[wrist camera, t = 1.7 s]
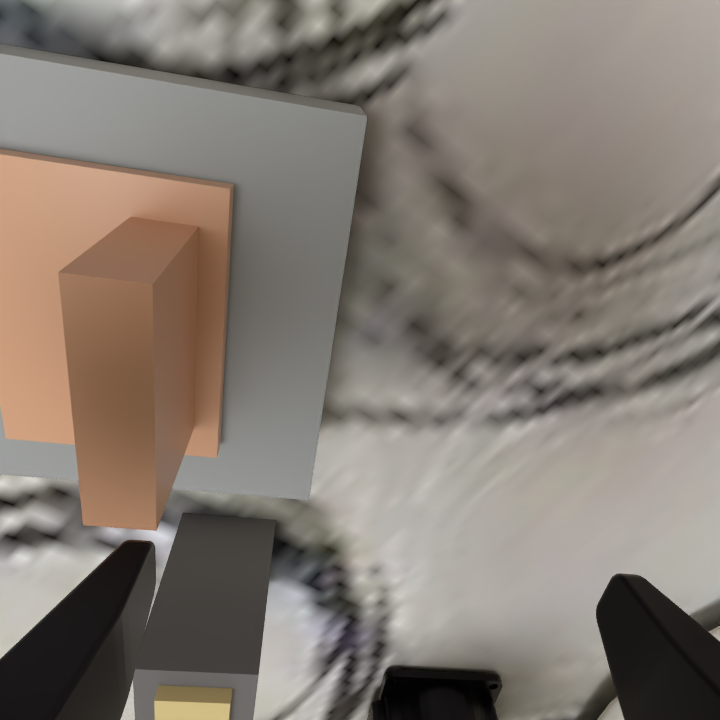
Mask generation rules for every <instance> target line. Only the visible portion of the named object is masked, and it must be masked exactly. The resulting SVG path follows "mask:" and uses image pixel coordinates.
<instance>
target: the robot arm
mask: <svg viewBox="0 0 720 720" xmlns="http://www.w3.org/2000/svg"><path fill="white" fill-rule="evenodd" d="M155 584H156V561H155V546H154V543H153V542H151V541H142V540H127V541H125V542H123V543H122V544H121V545H120V546H119V547H118V548H117V549H116V550H114V551H113V552H112V553H111V554H110V555H109V556H108V557H107V558H106V559H105V560H104V561H103V562H102V563H101V564H100V565H99V566H98V567H97V568H96V569H94V570H93V571H92V572H91V573H90V574H89V575H88V576H87V577H86V578H85V579H84V580H83V581H82V582H81V583H80V584H79V585H78V586H77V587H76V588H74V589H73V590H72V591H71V592H70V593H69V594H68V595H67V596H66V597H65V598H64V599H63V600H62V601H61V602H60V603H59V604H58V605H57V606H56V607H54V608H53V609H52V610H51V611H50V612H49V613H48V614H47V615H46V616H45V617H44V618H43V619H42V620H41V621H40V622H39V623H38V624H37V625H36V626H35V627H33V628H32V629H31V630H30V631H29V632H28V633H27V634H26V635H25V636H24V637H23V638H22V639H21V640H20V641H19V642H18V643H17V644H16V645H15V646H13V647H12V648H11V649H10V650H9V651H8V652H7V653H6V654H5V655H4V656H3V657H2V658H1V659H0V720H120V719H121V716H122V713H123V710H124V707H125V704H126V701H127V698H128V695H129V691H130V687H131V684H132V680H133V676H134V672H135V668H136V664H137V660H138V656H139V652H140V648H141V644H142V640H143V636H144V632H145V628H146V624H147V620H148V616H149V612H150V607H151V603H152V599H153V595H154V590H155ZM596 618H597V623H598V627H599V631H600V634H601V638H602V642H603V645H604V649H605V653H606V656H607V660H608V664H609V668H610V671H611V675H612V679H613V682H614V686H615V690H616V693H617V697H618V701H619V704H620V707H621V711H622V714H623V717H624V720H720V641H719V640H718V639H717V638H715V637H714V636H713V635H712V634H711V633H709V632H708V631H707V630H706V629H705V628H703V627H702V626H701V625H700V624H699V623H697V622H696V621H695V620H694V619H693V618H691V617H690V616H689V615H688V614H687V613H685V612H684V611H683V610H682V609H681V608H679V607H678V606H677V605H676V604H675V603H673V602H672V601H671V600H670V599H669V598H667V597H666V596H665V595H664V594H663V593H661V592H660V591H659V590H658V589H657V588H655V587H654V586H653V585H652V584H651V583H649V582H648V581H647V580H646V579H644V578H643V577H641V576H639V575H633V574H616V575H614V576H613V577H612V578H611V580H610V582H609V583H608V585H607V587H606V589H605V591H604V593H603V595H602V597H601V599H600V600H599V602H598V605H597V609H596ZM501 688H502V682H501V678H500V676H499V675H497V674H484V673H464V672H443V671H422V670H401V669H392V670H389V671H387V672H386V673H385V675H384V679H383V682H382V685H381V689H380V692H379V696H378V699H375V700H374V701H373V703H372V704H371V708H370V711H369V715H368V718H367V720H498V716H497V713H496V709H495V705H494V704H495V701H496V699H497V697H498V695H499V693H500V691H501Z"/></svg>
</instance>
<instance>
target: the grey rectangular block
mask: <svg viewBox="0 0 720 720" xmlns="http://www.w3.org/2000/svg"><path fill="white" fill-rule="evenodd" d="M275 523H276V520H268V519H255V518H243V517H230V516H218V515H205V514H192V513H183V514H182V517H181V520H180V524H179V527H178V530H177V533H176V536H175V539H174V542H173V545H172V548H171V551H170V555H169V558H168V561H167V564H166V567H165V570H164V573H163V576H162V579H161V582H160V586H159V589H158V592H157V595H156V598H155V601H154V604H153V607H152V610H151V613H150V617H149V620H148V623H147V626H146V629H145V632H144V636H143V640H142V644H141V648H140V652H139V656H138V660H137V664H136V668H135V672H134V676H133V688H134V707H135V720H253V715H254V707H255V699H256V690H257V682H258V674H259V665H260V656H261V647H262V638H263V630H264V621H265V612H266V603H267V594H268V585H269V576H270V567H271V559H272V550H273V541H274V532H275Z"/></svg>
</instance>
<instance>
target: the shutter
mask: <svg viewBox="0 0 720 720" xmlns="http://www.w3.org/2000/svg"><path fill="white" fill-rule="evenodd" d="M233 191H234V184H230V183H223V182H217V181H210V180H204V179H197V178H190V177H184V176H177V175H171V174H164V173H158V172H151V171H144V170H138V169H131V168H125V167H118V166H111V165H105V164H98V163H92V162H85V161H79V160H72V159H65V158H59V157H52V156H46V155H39V154H32V153H26V152H19V151H13V150H6V149H0V407H1V413H2V419H3V425H4V431H5V437H6V439H16V440H27V441H38V442H49V443H59V444H70V445H75V448H76V458H77V468H78V478H79V488H80V498H81V508H82V518H83V525H89V526H102V527H115V528H129V529H142V530H155V531H157V528H158V525H159V522H160V520H161V517H162V514H163V512H164V509H165V506H166V503H167V501H168V498H169V495H170V492H171V490H172V487H173V484H174V482H175V479H176V476H177V473H178V471H179V468H180V465H181V462H182V460H183V457H184V455H190V456H201V457H212V458H217V456H218V452H219V449H220V442H221V423H222V404H223V384H224V365H225V346H226V326H227V307H228V288H229V268H230V249H231V230H232V211H233Z"/></svg>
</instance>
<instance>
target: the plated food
mask: <svg viewBox="0 0 720 720" xmlns="http://www.w3.org/2000/svg"><path fill="white" fill-rule="evenodd" d="M709 633H711V634H712V635H713V636H714V637H715V638H717V639H718V640H719V641H720V626H718V627H716V628H715V629H713V630H711V631H709ZM597 720H624V717H623V714H622V711H621V707H620V704H619V701H618V697H616V698H615V699H614V700H612V701H611V702H610V703H609V705H608V706H607V707H606V708H605V710H604V711H603V712H602V714H601V715H600V716H599V718H598V719H597Z"/></svg>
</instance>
